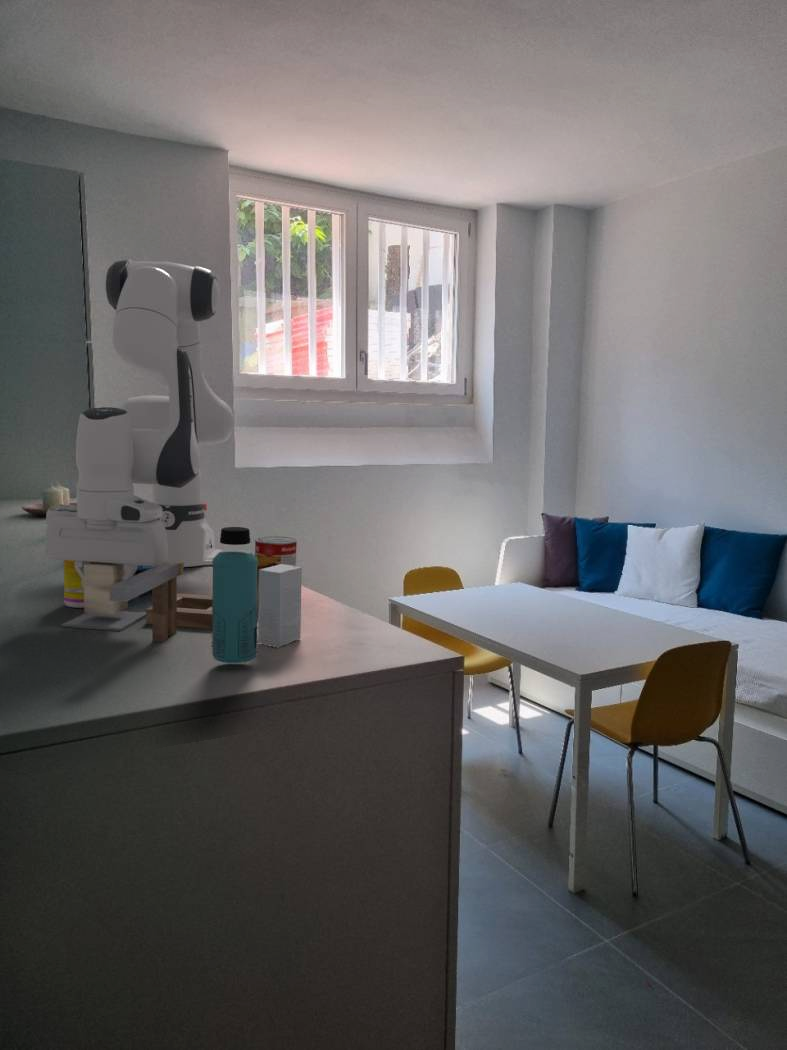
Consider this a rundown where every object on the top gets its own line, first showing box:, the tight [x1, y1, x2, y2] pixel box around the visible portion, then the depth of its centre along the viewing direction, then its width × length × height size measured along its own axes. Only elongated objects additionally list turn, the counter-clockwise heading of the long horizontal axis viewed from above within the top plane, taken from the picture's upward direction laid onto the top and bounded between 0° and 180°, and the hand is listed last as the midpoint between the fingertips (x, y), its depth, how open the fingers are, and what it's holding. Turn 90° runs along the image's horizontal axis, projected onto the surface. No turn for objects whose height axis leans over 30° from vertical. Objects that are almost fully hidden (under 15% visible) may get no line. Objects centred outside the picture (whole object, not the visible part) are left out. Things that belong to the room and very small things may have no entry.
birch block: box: [83, 562, 128, 614], centre depth 124 cm, size 5×5×8 cm
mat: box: [62, 610, 146, 632], centre depth 125 cm, size 10×10×1 cm
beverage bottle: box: [210, 526, 259, 664], centre depth 104 cm, size 6×7×20 cm
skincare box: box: [257, 564, 302, 648], centre depth 117 cm, size 6×4×12 cm
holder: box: [145, 576, 213, 643], centre depth 125 cm, size 21×12×9 cm, turn 173°
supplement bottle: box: [63, 560, 90, 609], centre depth 134 cm, size 7×7×13 cm
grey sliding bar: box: [109, 561, 184, 603], centre depth 110 cm, size 19×3×2 cm, turn 173°
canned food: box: [254, 536, 298, 604], centre depth 143 cm, size 8×8×12 cm
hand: (106, 588), depth 124 cm, fingers closed on birch block, 5 cm apart
